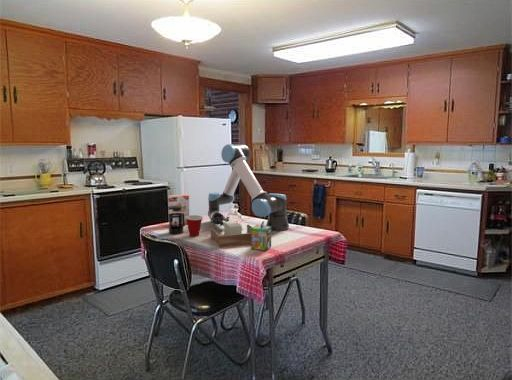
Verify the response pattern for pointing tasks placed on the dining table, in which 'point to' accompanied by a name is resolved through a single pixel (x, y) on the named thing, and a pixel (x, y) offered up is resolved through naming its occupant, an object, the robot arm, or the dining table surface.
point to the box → (232, 238)
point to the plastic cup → (194, 224)
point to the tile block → (232, 228)
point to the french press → (175, 229)
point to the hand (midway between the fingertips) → (225, 224)
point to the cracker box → (180, 201)
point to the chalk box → (261, 237)
